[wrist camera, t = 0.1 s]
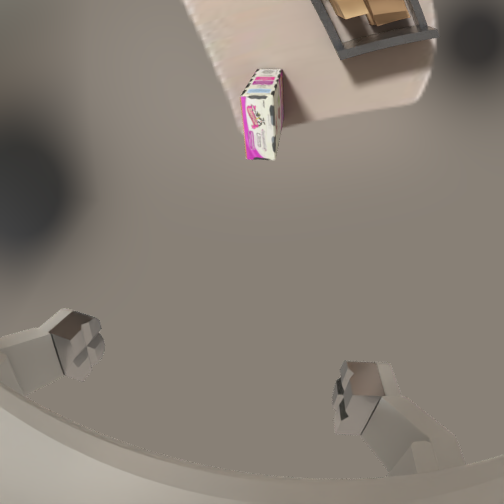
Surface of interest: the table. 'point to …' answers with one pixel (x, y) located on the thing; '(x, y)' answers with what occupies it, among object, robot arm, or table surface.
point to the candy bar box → (263, 114)
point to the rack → (379, 39)
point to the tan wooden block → (349, 8)
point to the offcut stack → (385, 11)
